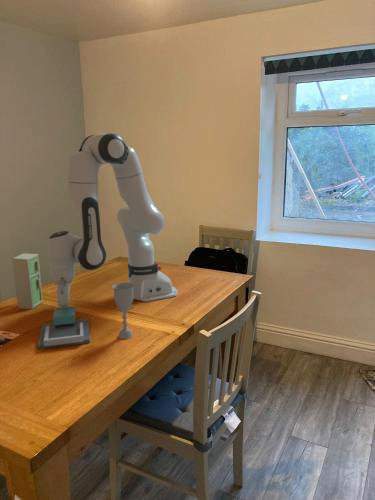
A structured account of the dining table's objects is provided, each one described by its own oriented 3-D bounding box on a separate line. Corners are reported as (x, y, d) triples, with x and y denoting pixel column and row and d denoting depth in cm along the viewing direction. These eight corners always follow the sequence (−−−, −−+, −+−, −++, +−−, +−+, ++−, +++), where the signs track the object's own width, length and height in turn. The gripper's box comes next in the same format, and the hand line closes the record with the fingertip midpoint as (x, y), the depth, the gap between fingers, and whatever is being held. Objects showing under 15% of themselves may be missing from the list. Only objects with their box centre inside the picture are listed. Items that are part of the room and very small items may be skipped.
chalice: (118, 342, 129) (115, 290, 124) (112, 333, 135) (109, 284, 130) (139, 337, 132) (137, 287, 128) (132, 329, 138) (130, 281, 134)
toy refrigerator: (33, 309, 156) (28, 259, 150) (17, 308, 157) (11, 258, 152) (44, 302, 163) (40, 253, 158) (29, 301, 165) (23, 253, 159)
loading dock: (88, 321, 147) (87, 310, 146) (90, 347, 128) (89, 335, 127) (43, 326, 143) (42, 315, 142) (38, 353, 124) (37, 341, 123)
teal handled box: (75, 318, 147) (74, 305, 146) (75, 326, 138) (74, 312, 137) (55, 320, 145) (54, 307, 145) (53, 328, 136) (52, 315, 135)
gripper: (70, 282, 139) (73, 318, 142) (71, 266, 158) (74, 298, 161) (52, 283, 137) (55, 319, 140) (55, 267, 156) (58, 299, 160)
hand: (65, 308), depth 151 cm, fingers open, 7 cm apart
